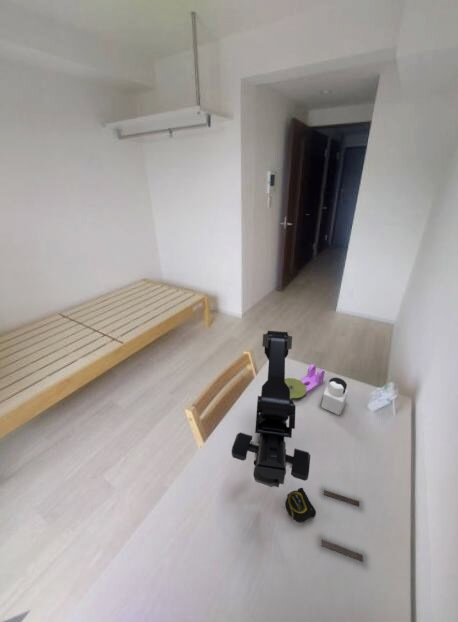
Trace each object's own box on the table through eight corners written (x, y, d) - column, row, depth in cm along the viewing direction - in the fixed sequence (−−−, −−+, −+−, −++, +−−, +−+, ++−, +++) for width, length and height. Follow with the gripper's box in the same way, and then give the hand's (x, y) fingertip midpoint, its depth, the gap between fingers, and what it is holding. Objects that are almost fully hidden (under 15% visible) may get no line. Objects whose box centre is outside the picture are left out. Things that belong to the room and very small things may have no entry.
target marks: (321, 545, 65) (321, 545, 65) (323, 490, 76) (323, 489, 76) (362, 561, 63) (363, 561, 62) (358, 502, 74) (359, 501, 73)
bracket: (311, 375, 118) (313, 362, 115) (322, 382, 115) (325, 369, 111) (292, 388, 111) (294, 375, 108) (303, 396, 108) (305, 383, 104)
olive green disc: (310, 389, 110) (311, 386, 110) (297, 406, 103) (297, 402, 102) (286, 377, 117) (287, 374, 116) (272, 392, 110) (272, 388, 109)
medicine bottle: (326, 395, 108) (331, 372, 102) (344, 403, 104) (351, 380, 98) (320, 407, 103) (325, 383, 97) (339, 415, 99) (345, 391, 93)
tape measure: (316, 519, 70) (318, 511, 68) (292, 528, 68) (294, 521, 67) (302, 492, 76) (303, 484, 74) (280, 500, 74) (281, 493, 72)
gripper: (223, 453, 59) (224, 493, 67) (310, 482, 54) (301, 521, 61) (238, 414, 69) (238, 453, 76) (314, 435, 63) (306, 474, 70)
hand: (268, 474), depth 71 cm, fingers closed
